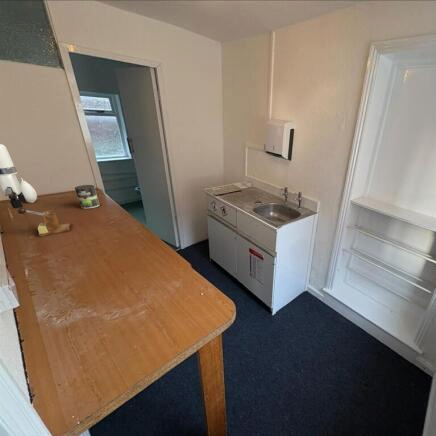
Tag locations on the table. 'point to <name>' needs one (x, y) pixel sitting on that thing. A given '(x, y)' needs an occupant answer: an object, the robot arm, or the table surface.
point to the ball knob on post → (23, 210)
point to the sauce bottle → (28, 192)
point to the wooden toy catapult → (53, 224)
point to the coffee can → (87, 196)
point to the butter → (42, 229)
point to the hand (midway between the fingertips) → (20, 204)
